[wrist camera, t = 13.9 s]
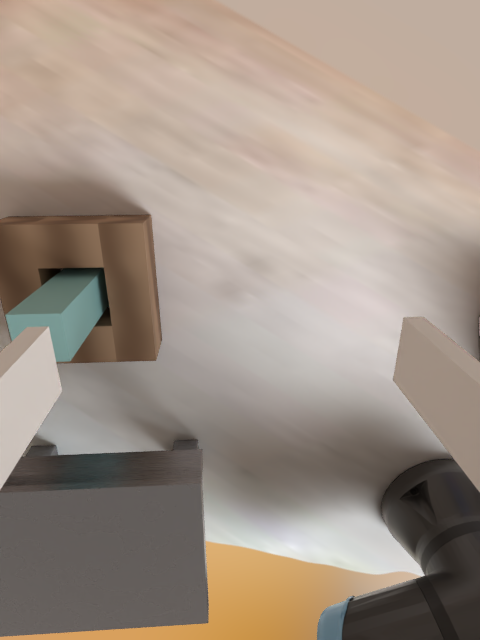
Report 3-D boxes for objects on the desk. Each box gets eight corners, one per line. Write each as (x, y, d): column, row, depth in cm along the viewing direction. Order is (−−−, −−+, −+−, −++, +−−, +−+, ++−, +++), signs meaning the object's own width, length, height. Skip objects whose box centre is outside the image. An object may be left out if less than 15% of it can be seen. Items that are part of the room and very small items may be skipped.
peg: (107, 263, 42) (61, 313, 30) (112, 299, 44) (70, 361, 31) (68, 264, 42) (5, 314, 29) (75, 300, 44) (17, 362, 31)
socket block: (151, 215, 41) (143, 223, 36) (161, 339, 46) (156, 360, 42) (8, 216, 40) (-18, 225, 35) (36, 342, 45) (17, 364, 41)
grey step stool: (206, 353, 47) (200, 483, 29) (210, 460, 54) (208, 622, 35) (-5, 359, 46) (-150, 499, 28) (25, 468, 52) (-78, 641, 34)
